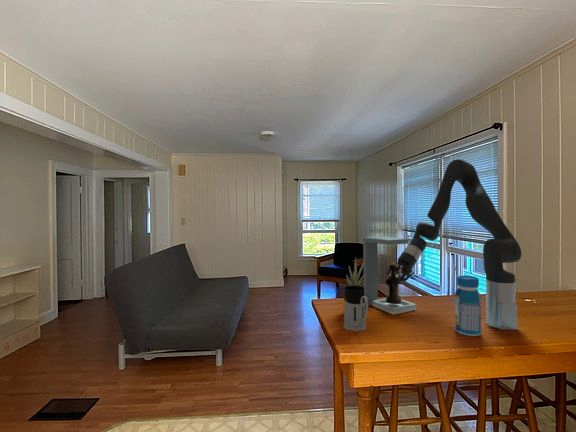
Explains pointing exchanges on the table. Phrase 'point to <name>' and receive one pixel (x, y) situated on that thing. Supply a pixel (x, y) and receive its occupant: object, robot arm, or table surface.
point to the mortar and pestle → (393, 292)
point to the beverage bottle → (468, 306)
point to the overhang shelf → (372, 275)
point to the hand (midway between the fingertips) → (390, 285)
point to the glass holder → (355, 308)
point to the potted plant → (355, 278)
